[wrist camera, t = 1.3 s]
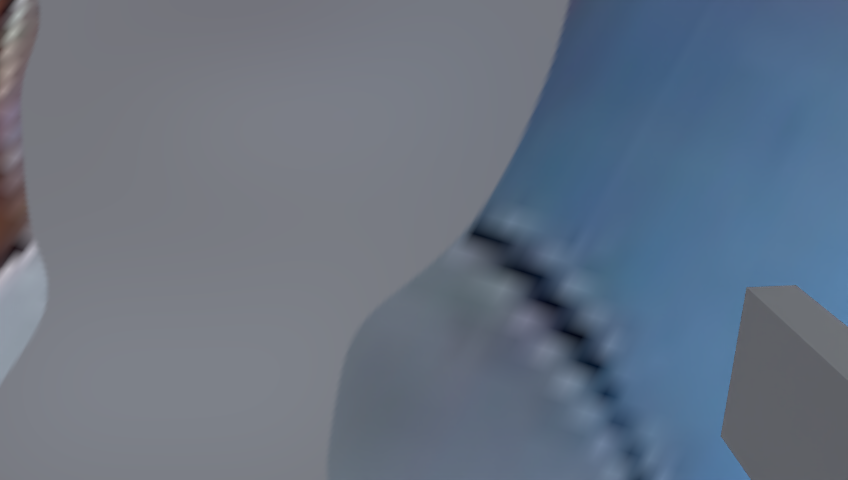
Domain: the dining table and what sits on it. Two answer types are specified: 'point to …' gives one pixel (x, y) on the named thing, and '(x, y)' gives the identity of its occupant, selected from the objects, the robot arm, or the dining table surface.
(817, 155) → the dining table surface
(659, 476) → the dining table surface
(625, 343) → the dining table surface
